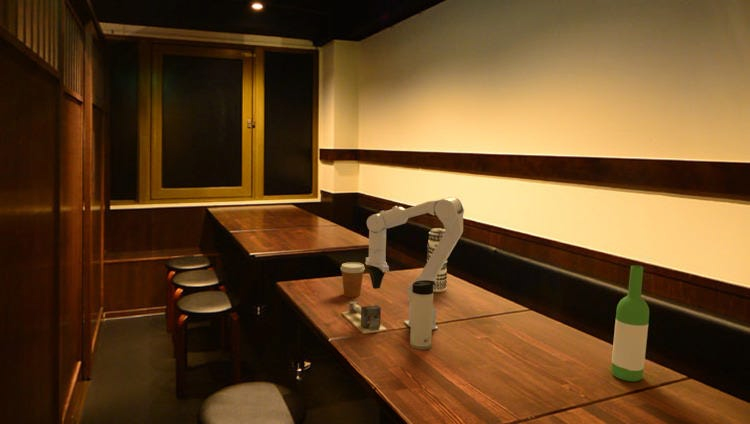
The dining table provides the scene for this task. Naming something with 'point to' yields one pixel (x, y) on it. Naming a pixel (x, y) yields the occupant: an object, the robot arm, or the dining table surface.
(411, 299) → the robot arm
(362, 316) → the grey notched block
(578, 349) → the dining table surface
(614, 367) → the wine bottle
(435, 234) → the decorative candle
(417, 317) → the travel mug
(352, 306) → the pipe stand
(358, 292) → the disposable coffee cup
